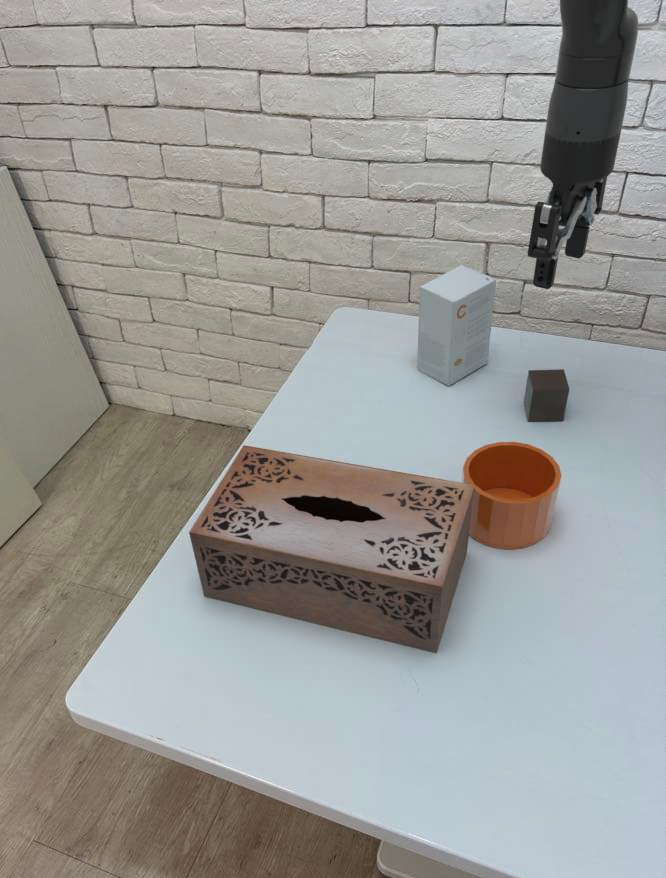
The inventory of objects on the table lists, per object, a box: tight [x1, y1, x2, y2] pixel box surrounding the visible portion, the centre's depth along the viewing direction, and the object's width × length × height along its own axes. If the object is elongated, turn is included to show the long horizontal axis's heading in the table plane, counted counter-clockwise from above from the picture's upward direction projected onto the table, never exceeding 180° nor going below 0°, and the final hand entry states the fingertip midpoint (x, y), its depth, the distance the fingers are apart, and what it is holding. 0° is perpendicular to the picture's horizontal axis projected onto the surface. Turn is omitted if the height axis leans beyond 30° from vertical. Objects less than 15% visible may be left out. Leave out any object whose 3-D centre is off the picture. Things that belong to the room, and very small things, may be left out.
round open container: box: [461, 441, 563, 550], centre depth 89 cm, size 10×10×7 cm
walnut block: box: [523, 368, 570, 423], centre depth 103 cm, size 4×4×5 cm
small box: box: [416, 264, 497, 387], centre depth 109 cm, size 8×6×13 cm
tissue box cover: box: [188, 444, 475, 654], centre depth 85 cm, size 26×14×10 cm, turn 68°
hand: (558, 270), depth 95 cm, fingers open, 8 cm apart
